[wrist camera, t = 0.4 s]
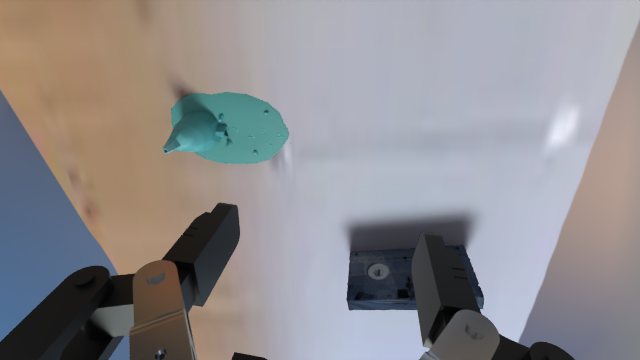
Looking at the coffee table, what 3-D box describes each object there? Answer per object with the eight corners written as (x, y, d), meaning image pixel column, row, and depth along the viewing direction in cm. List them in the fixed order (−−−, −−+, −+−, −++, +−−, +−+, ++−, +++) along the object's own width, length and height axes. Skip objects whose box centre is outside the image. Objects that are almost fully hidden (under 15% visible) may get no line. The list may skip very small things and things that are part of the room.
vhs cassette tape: (351, 262, 53) (348, 311, 44) (349, 249, 51) (345, 297, 43) (463, 258, 49) (484, 311, 40) (464, 244, 47) (485, 296, 39)
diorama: (299, 171, 45) (286, 202, 38) (176, 162, 48) (141, 190, 40) (296, 89, 39) (279, 108, 32) (156, 84, 42) (110, 100, 34)
